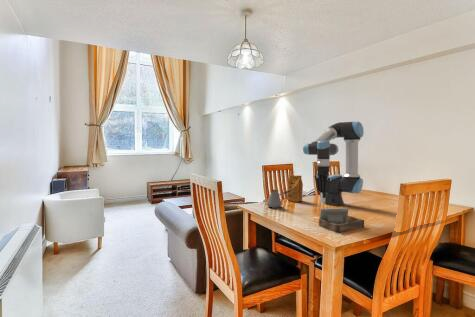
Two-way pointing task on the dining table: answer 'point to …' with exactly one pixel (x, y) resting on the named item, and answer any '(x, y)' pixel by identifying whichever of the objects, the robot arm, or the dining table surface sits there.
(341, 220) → the digital clock
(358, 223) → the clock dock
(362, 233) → the dining table surface
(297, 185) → the coffee package
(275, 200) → the coffee pot
